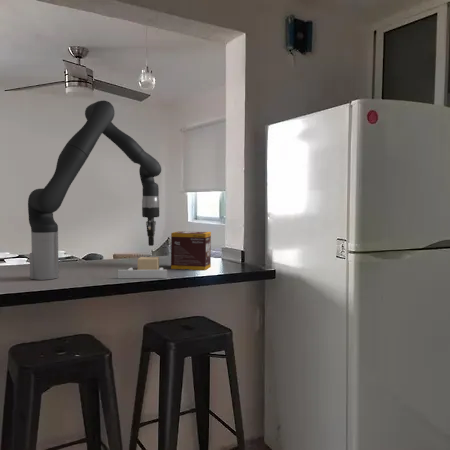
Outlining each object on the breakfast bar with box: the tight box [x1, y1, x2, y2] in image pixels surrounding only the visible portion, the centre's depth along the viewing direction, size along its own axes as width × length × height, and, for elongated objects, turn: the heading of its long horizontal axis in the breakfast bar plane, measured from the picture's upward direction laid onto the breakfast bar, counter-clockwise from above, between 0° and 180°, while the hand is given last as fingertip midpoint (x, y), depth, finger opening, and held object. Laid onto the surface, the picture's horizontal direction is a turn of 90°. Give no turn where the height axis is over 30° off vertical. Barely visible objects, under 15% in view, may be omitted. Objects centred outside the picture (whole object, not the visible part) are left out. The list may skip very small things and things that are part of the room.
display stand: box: [117, 267, 168, 279], centre depth 174 cm, size 18×13×3 cm
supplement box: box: [170, 231, 212, 271], centre depth 194 cm, size 10×15×16 cm
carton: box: [137, 256, 160, 270], centre depth 189 cm, size 8×8×5 cm
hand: (151, 245), depth 198 cm, fingers closed
